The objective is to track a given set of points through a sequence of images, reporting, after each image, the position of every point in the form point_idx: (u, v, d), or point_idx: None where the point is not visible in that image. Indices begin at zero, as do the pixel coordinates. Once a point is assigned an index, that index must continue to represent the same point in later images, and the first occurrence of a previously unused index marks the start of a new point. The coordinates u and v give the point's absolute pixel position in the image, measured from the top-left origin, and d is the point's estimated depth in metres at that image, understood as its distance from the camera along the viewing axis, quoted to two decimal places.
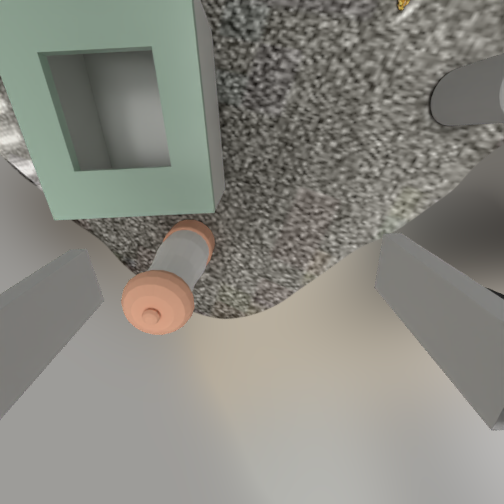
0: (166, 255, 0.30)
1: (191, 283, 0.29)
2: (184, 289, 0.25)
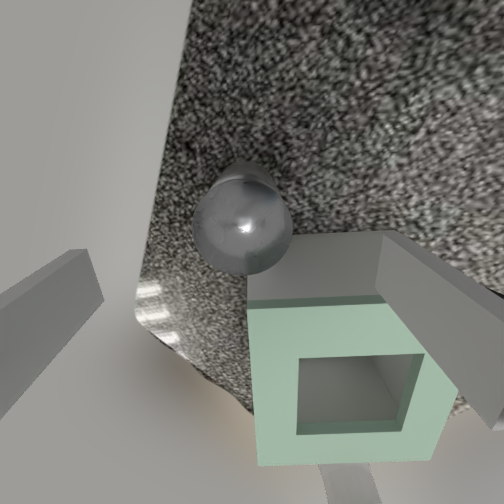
0: (349, 469, 0.28)
1: None
2: None
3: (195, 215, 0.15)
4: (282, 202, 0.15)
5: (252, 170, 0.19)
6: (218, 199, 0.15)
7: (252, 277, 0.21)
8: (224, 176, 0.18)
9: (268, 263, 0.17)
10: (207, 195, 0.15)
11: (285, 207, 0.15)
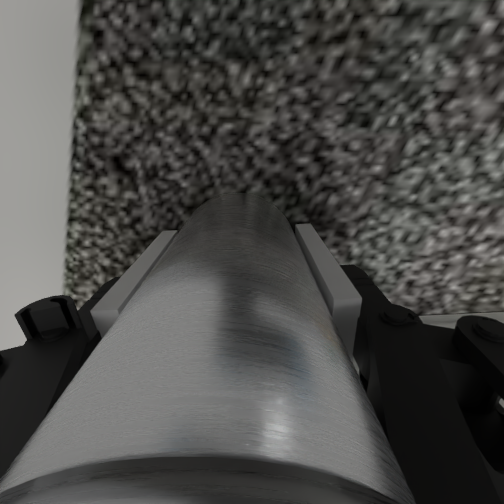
0: None
1: None
2: None
3: None
4: None
5: (251, 251, 0.06)
6: None
7: None
8: (155, 291, 0.05)
9: None
10: None
11: None
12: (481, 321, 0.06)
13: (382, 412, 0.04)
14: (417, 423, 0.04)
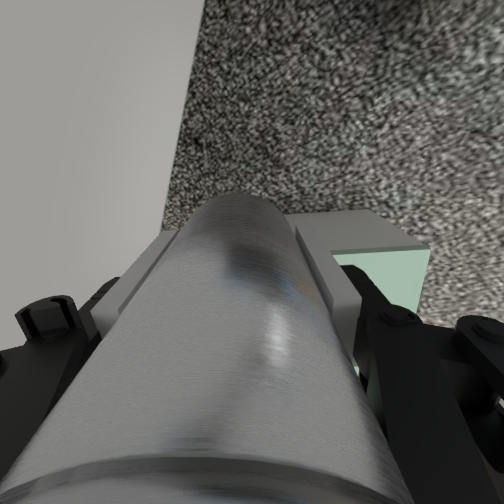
0: None
1: None
2: None
3: None
4: None
5: (251, 252, 0.06)
6: None
7: None
8: (155, 292, 0.05)
9: None
10: None
11: None
12: (481, 321, 0.06)
13: (382, 412, 0.04)
14: (416, 423, 0.04)
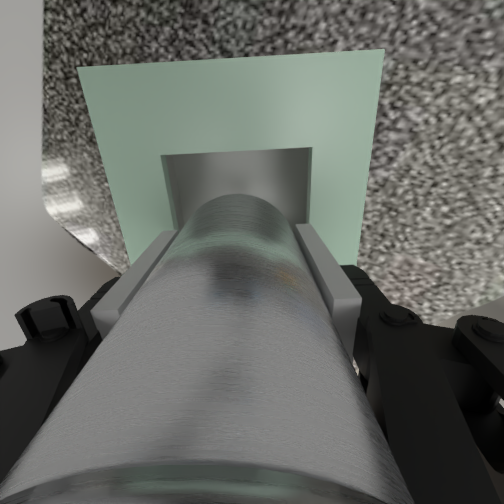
0: None
1: None
2: None
3: None
4: None
5: (251, 254, 0.06)
6: None
7: None
8: (154, 294, 0.05)
9: None
10: None
11: None
12: (481, 321, 0.06)
13: (382, 412, 0.04)
14: (416, 423, 0.04)
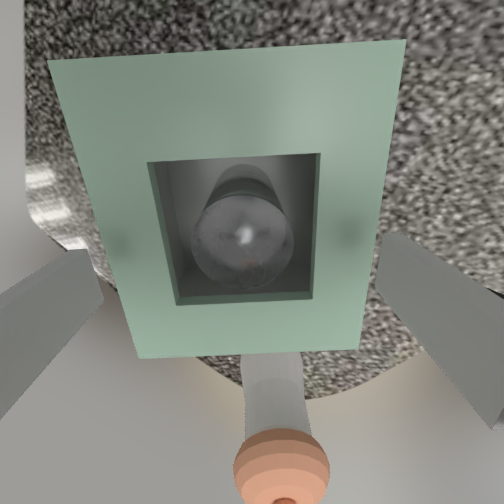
0: (271, 381, 0.23)
1: None
2: (324, 462, 0.18)
3: (195, 229, 0.15)
4: (284, 218, 0.15)
5: (252, 179, 0.19)
6: (219, 214, 0.15)
7: None
8: (224, 186, 0.18)
9: (268, 277, 0.17)
10: (207, 210, 0.14)
11: (287, 223, 0.15)
12: None
13: None
14: None
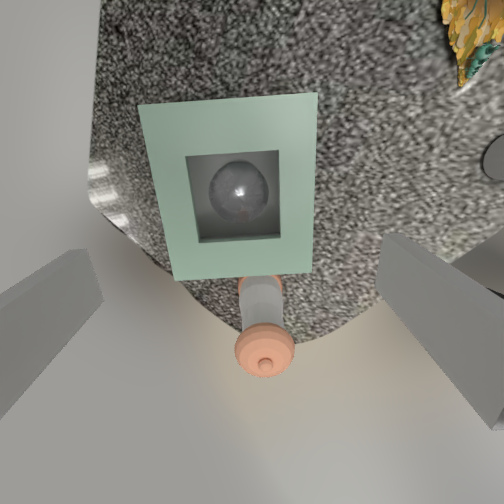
0: (259, 303, 0.34)
1: None
2: (290, 340, 0.29)
3: (211, 182, 0.26)
4: (262, 176, 0.26)
5: (245, 161, 0.30)
6: (225, 173, 0.26)
7: None
8: None
9: (254, 215, 0.27)
10: (219, 170, 0.26)
11: (264, 179, 0.26)
12: None
13: None
14: None
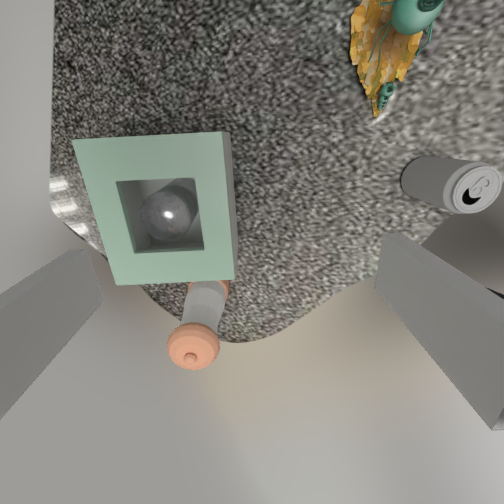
0: (196, 305, 0.39)
1: (216, 328, 0.38)
2: (213, 337, 0.34)
3: (141, 208, 0.31)
4: (184, 204, 0.31)
5: (179, 185, 0.35)
6: (152, 200, 0.30)
7: None
8: (161, 188, 0.34)
9: (179, 235, 0.32)
10: (146, 198, 0.30)
11: (186, 206, 0.31)
12: None
13: None
14: None
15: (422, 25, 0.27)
